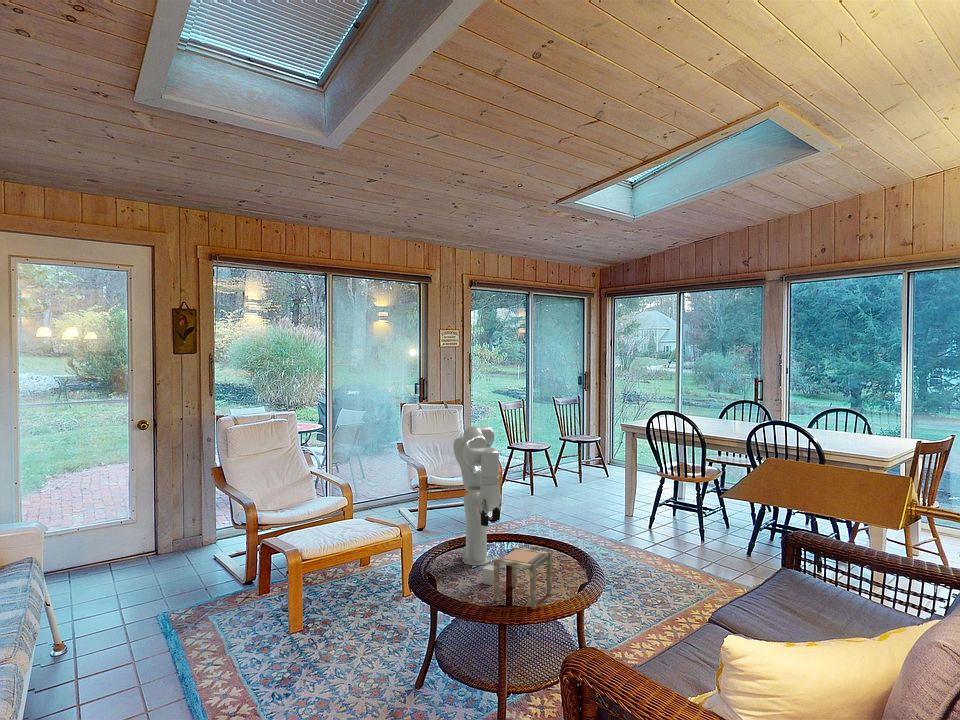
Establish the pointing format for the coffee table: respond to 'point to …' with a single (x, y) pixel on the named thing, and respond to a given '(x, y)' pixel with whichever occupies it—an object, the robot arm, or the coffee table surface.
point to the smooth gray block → (488, 574)
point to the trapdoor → (523, 556)
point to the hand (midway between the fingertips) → (490, 522)
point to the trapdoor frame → (532, 568)
